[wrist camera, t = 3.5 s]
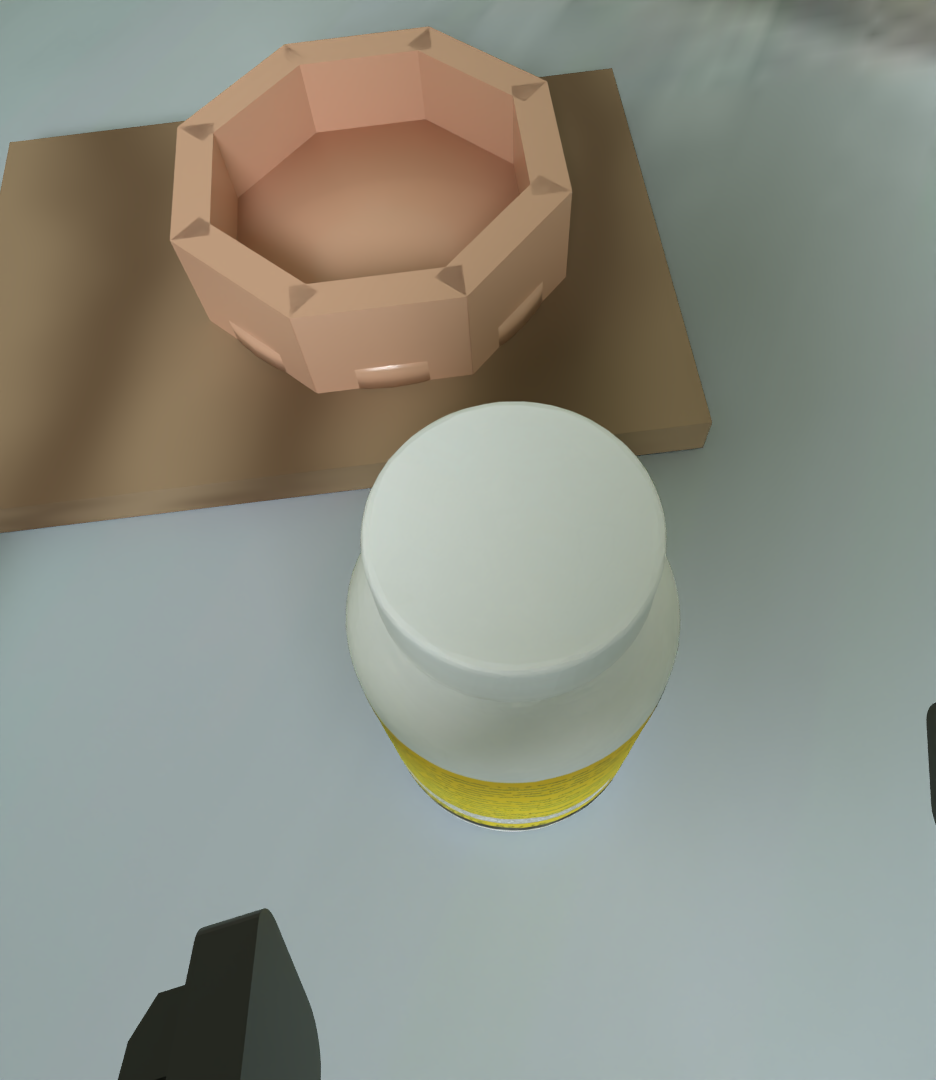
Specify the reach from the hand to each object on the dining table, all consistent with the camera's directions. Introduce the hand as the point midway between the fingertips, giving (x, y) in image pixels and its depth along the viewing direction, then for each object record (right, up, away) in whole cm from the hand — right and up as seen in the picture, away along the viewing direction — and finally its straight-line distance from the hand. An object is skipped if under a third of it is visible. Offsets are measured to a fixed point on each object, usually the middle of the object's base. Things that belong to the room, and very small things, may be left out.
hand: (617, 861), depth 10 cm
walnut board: (-6, +11, +16) cm, 20 cm away
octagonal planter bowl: (-4, +13, +15) cm, 20 cm away
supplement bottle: (-1, 0, +10) cm, 10 cm away
